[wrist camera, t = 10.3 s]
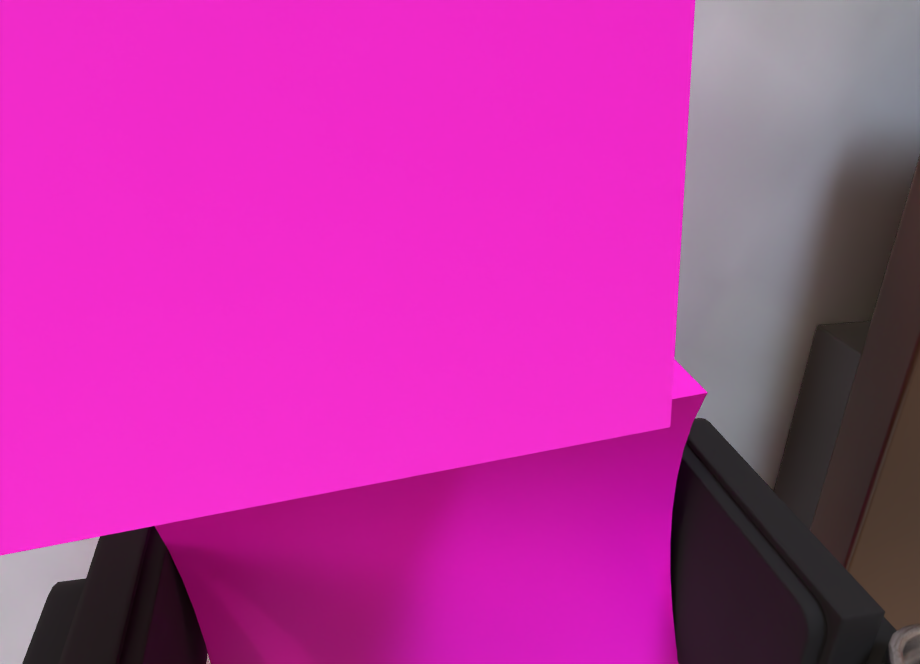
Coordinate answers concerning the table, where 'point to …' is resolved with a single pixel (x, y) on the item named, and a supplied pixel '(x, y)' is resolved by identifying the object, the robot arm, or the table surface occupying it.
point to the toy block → (354, 315)
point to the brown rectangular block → (866, 436)
